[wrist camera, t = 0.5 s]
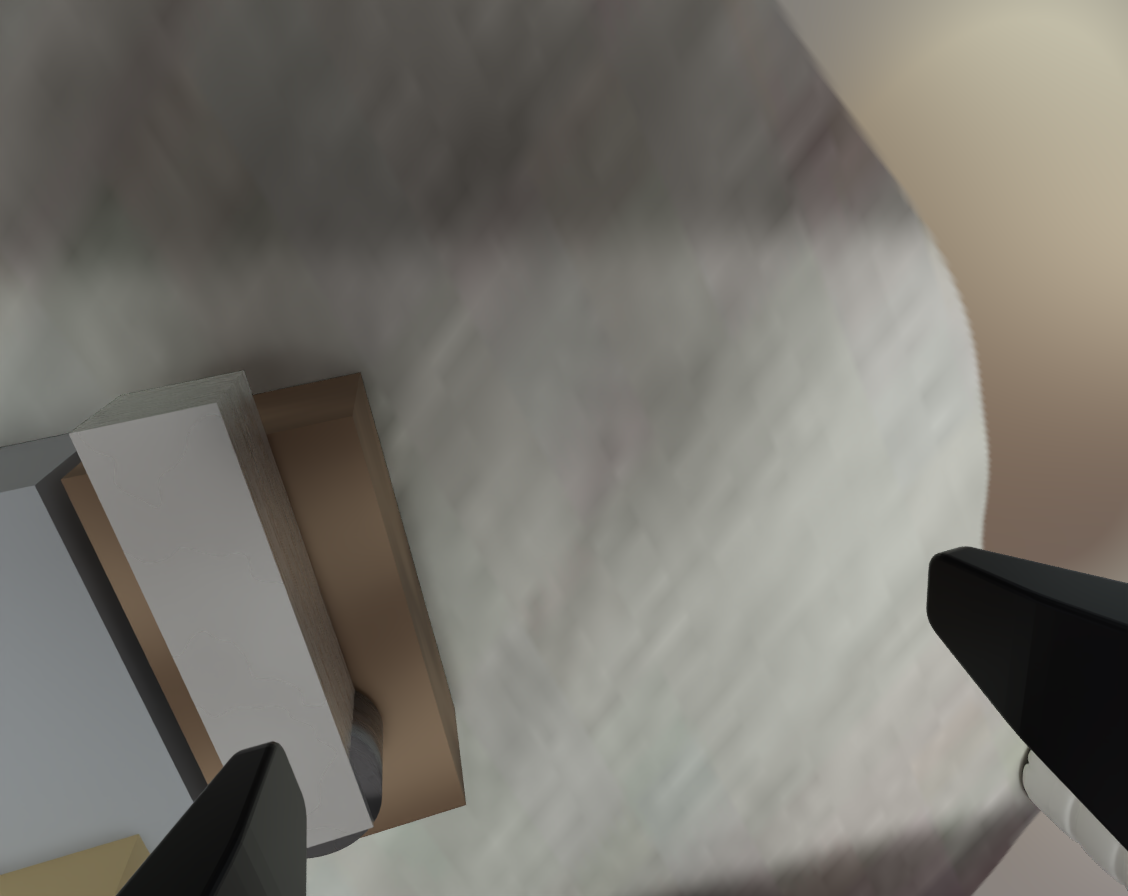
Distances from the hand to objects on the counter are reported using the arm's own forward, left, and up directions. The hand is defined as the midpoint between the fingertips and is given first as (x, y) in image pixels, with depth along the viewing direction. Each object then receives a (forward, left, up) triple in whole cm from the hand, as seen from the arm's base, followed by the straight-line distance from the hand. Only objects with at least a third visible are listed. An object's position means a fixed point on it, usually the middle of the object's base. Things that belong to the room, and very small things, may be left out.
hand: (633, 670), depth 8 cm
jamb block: (-5, +6, -13) cm, 15 cm away
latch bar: (-3, +6, -9) cm, 11 cm away
